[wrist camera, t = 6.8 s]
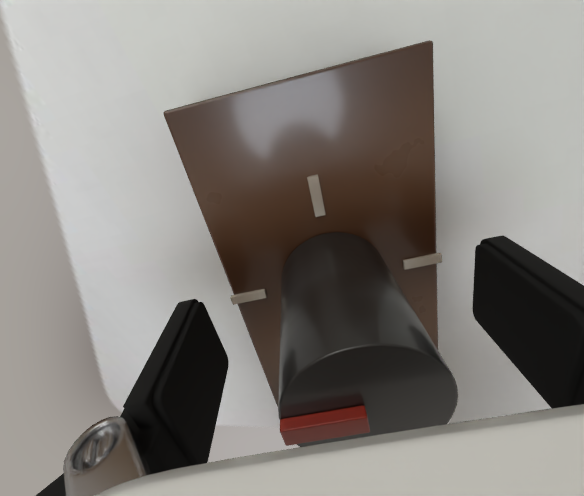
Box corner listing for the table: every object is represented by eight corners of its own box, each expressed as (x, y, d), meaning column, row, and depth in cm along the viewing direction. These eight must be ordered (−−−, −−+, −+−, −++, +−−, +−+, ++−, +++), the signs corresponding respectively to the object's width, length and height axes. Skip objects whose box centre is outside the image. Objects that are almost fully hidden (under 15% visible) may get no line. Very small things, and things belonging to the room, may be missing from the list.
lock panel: (416, 336, 17) (442, 384, 14) (277, 362, 18) (275, 412, 15) (400, 52, 11) (440, 37, 8) (187, 109, 12) (155, 112, 9)
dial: (379, 220, 11) (469, 339, 5) (389, 309, 12) (464, 462, 7) (269, 244, 11) (254, 378, 6) (294, 327, 13) (300, 486, 7)
